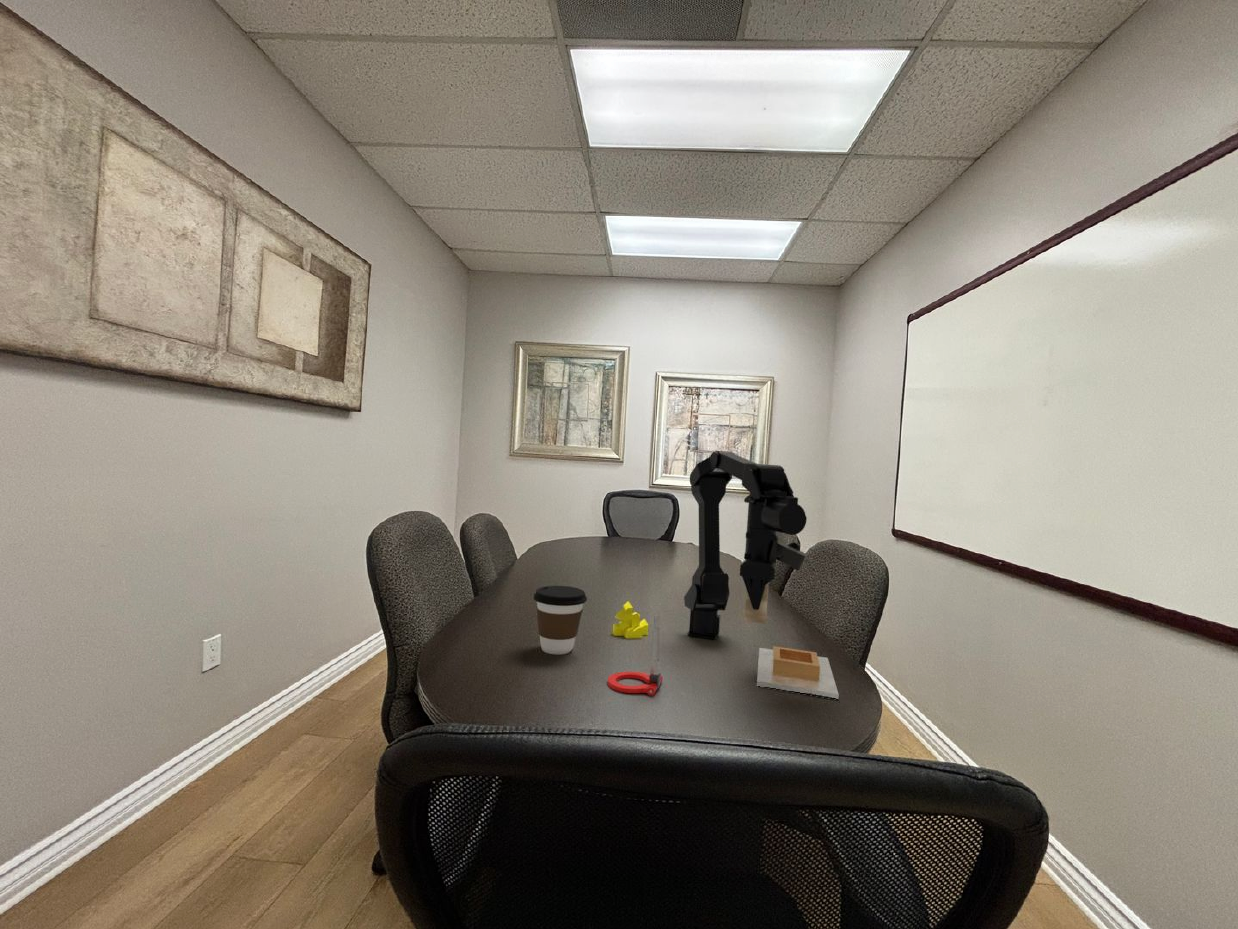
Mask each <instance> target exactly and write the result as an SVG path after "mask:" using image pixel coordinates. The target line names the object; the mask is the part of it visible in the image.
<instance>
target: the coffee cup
mask: <svg viewBox="0 0 1238 929" xmlns="http://www.w3.org/2000/svg"><path fill="white" fill-rule="evenodd" d="M533 600H534V601H536V605H537V606H536V617H537V626H538V628H537V629H538V635H539V639H540V642H539V643H540V647H541V650H542V652H544V653H547V654H549V655H566V654H569V653H571V652H572V649H573V648H574V646H575V641H576V638H577V635H578V632H579V627H580V622H581V618H582V613H583V606H584V604H585V603H586V602H587V600H588V597H587V595H586V592H585V591H584V590H583V589H581V588H578V587H574V586H570V585H569V586H567V585H547V586H542V587H539V588H536V591H535V593H534V594H533Z"/></svg>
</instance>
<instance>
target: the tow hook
mask: <svg viewBox="0 0 1238 929" xmlns="http://www.w3.org/2000/svg"><path fill="white" fill-rule="evenodd" d="M651 644H652V645H651V659H650V674H647V673H644V672H639V671H620V672H615V673H613V674H611V675H609V676H608V678H607V686H608V687H609V688H610V689H612V690H613V691H616V692H619V693H626V694H641V693H643V694H647V695H648V696H650V697H652V696H655V694H656V692H657V691H658V689H659V688H660V686H661V684H662V682H663V676H662V675H661V671H660V668H661V664H660V663H661V660H660V658H659V656H660V627H659V615H658V614H655V615H653V627H652V643H651ZM625 679H637V680H641V681H643V682H645V683H643V684H638V685H627V684H622V683H620V682H618V681H620V680H625Z"/></svg>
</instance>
